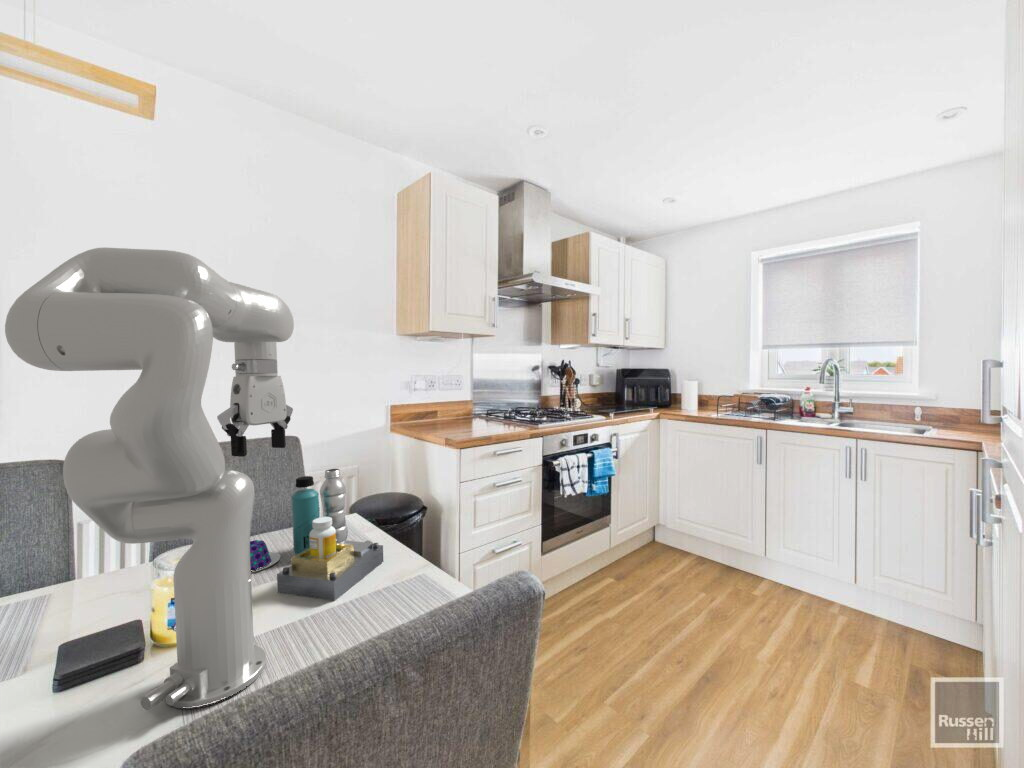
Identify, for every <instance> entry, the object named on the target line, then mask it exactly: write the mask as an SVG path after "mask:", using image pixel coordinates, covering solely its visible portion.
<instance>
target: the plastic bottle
mask: <svg viewBox="0 0 1024 768" xmlns="http://www.w3.org/2000/svg"><path fill="white" fill-rule="evenodd" d="M340 477H341V469H340V468H329V469H326V470H325V471H324V479H325V481H324V482H323V483H322V484H321V486H320V489H319V495H320V496H319V497H320V501H321V508H322V517H331V518H332V525H331V526H332V527H334V528H335V530H336V539H337V541H342V542H343V541H344V540H345V541H347V539H348V535H349V529H348V525H347V520H346V514H345V513H346V512H345V500H346V491H347V489H346V487H347V486H346V485H345V483H344V482H343V481H342V480H341V479H340Z"/></svg>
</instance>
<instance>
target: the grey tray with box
mask: <svg viewBox="0 0 1024 768" xmlns="http://www.w3.org/2000/svg"><path fill="white" fill-rule="evenodd" d="M290 561H291V565H290V566H286V567H283V568H282V570H281V571H280V572H278V573H276V581H277V582H276V584H277V588H276V589H277V594H283V595H291V596H298V597H306V598H313V599H320V600H327V601H337V599H339V598H340V597H342V596H343V594H345V593H346V592H347V591H349V590H351V589H352V588H353V587H354V586H355V585H356V584H357V583H359V582H360V581H362V579H364V578H365V577H367V576H368V575H369V574H370V573H372V572H373V571H374V570H375V569H376V568H377V567H379V566H380V565H381V564H383V563H384V545H383V544H379V542H374V543H373V542H372V541H371V540H366V541H354V540H346V541H345V540H344V541H343V542H342V541H337V539H336V554H334V555H332V556H331V557H329V558H328V559H318V558H310V548H308V549H306V550H304V551H303V552H301V553H299V554H295V555H294V556H292V557H291V560H290ZM382 562H383V563H382Z"/></svg>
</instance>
